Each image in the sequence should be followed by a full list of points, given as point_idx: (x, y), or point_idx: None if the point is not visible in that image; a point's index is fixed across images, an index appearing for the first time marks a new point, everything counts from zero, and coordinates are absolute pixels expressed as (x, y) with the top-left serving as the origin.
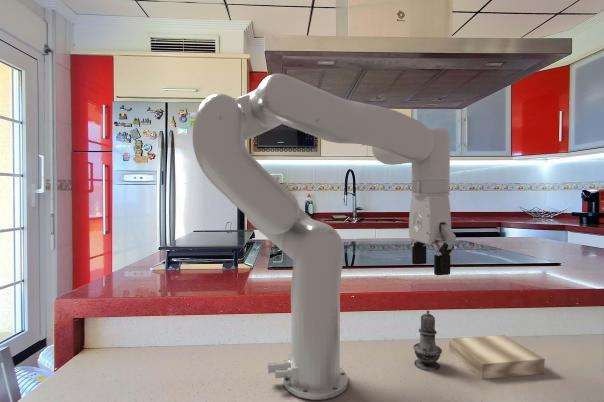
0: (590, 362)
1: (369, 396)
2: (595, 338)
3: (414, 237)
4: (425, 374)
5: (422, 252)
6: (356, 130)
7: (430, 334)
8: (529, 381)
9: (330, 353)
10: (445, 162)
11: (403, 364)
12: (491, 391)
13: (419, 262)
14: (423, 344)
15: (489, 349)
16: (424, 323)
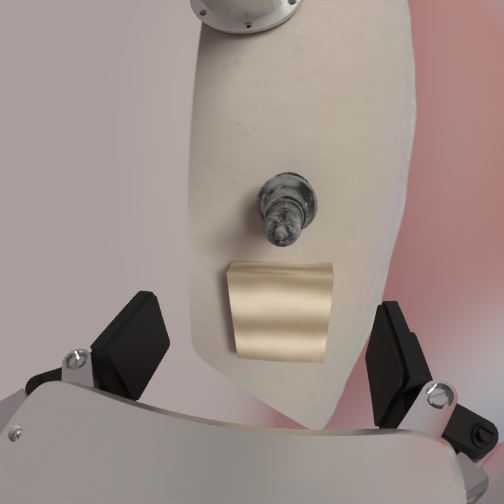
0: (262, 395)
1: (196, 62)
2: (312, 428)
3: (285, 453)
4: (255, 176)
5: (379, 389)
6: None
7: (264, 214)
8: (223, 315)
9: None
10: None
11: (297, 151)
12: (199, 253)
13: (374, 334)
14: (276, 194)
15: (277, 315)
16: (272, 210)
